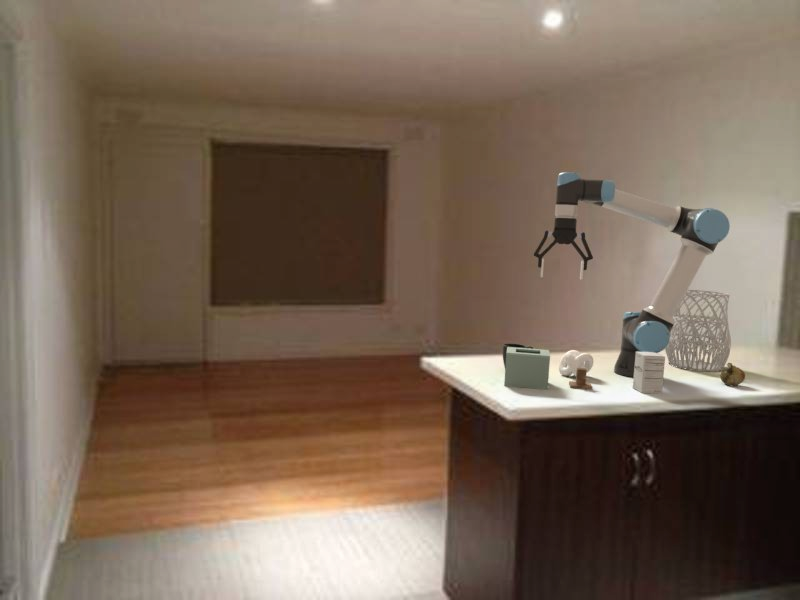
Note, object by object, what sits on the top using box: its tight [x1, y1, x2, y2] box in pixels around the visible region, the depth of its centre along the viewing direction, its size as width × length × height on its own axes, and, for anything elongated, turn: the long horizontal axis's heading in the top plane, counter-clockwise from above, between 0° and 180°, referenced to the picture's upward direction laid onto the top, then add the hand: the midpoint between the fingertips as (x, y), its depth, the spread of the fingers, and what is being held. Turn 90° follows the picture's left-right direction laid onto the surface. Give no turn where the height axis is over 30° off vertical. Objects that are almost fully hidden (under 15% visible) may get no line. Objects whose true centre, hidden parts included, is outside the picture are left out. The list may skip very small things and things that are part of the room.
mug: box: [502, 343, 534, 368], centre depth 271 cm, size 8×12×10 cm
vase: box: [664, 288, 732, 372], centre depth 298 cm, size 24×24×30 cm
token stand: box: [568, 368, 593, 390], centre depth 250 cm, size 7×7×6 cm
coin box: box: [503, 347, 551, 390], centre depth 250 cm, size 14×12×11 cm
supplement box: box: [632, 352, 666, 395], centre depth 248 cm, size 7×7×13 cm
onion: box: [719, 362, 746, 386], centre depth 265 cm, size 8×8×8 cm
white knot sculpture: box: [558, 349, 594, 377], centre depth 266 cm, size 11×12×9 cm
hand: (561, 278), depth 263 cm, fingers open, 13 cm apart
